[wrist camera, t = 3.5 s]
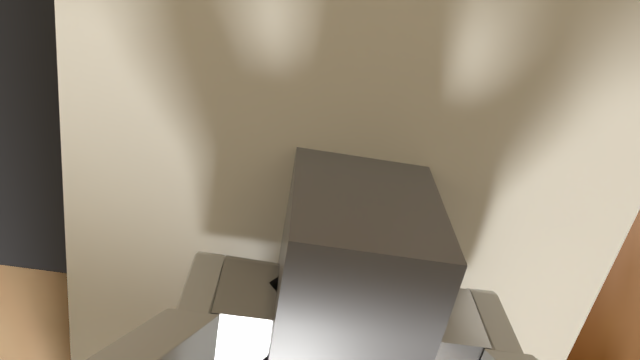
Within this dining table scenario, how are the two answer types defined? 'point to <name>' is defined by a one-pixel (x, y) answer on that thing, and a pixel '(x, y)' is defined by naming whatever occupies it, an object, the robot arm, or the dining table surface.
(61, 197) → the mat
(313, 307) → the lid
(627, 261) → the dining table surface
